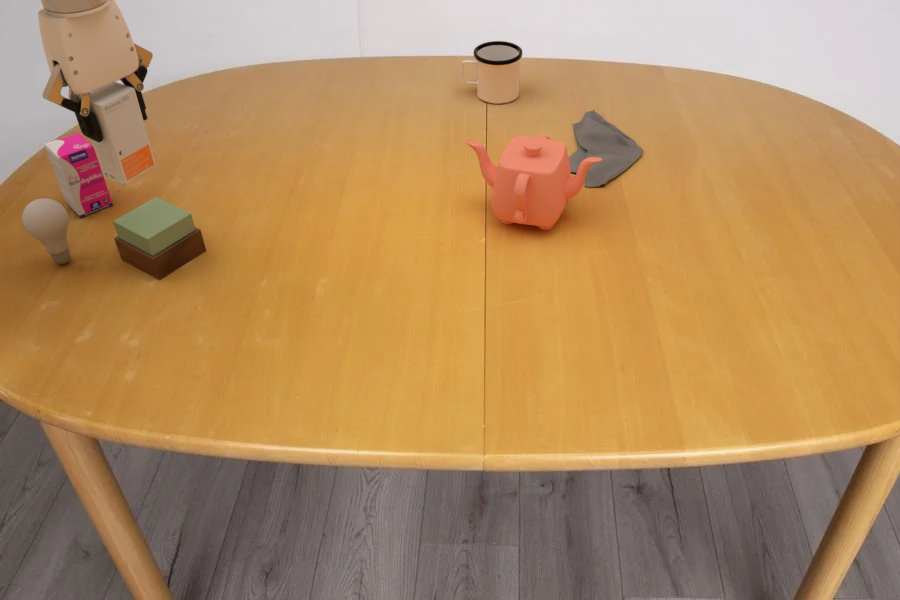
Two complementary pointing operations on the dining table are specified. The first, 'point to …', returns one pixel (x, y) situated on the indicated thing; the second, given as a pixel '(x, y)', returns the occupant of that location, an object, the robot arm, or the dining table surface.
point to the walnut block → (163, 254)
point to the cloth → (602, 149)
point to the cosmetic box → (121, 134)
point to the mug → (496, 71)
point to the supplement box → (79, 174)
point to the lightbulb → (48, 227)
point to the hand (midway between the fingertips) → (116, 126)
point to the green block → (154, 225)
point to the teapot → (531, 180)
